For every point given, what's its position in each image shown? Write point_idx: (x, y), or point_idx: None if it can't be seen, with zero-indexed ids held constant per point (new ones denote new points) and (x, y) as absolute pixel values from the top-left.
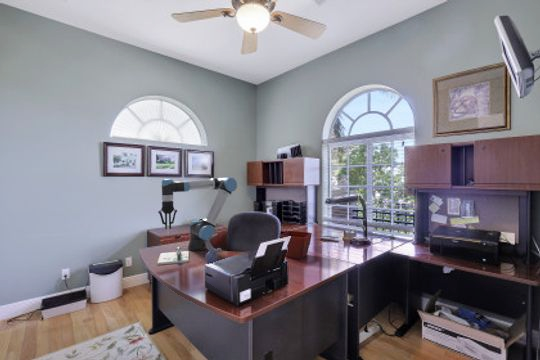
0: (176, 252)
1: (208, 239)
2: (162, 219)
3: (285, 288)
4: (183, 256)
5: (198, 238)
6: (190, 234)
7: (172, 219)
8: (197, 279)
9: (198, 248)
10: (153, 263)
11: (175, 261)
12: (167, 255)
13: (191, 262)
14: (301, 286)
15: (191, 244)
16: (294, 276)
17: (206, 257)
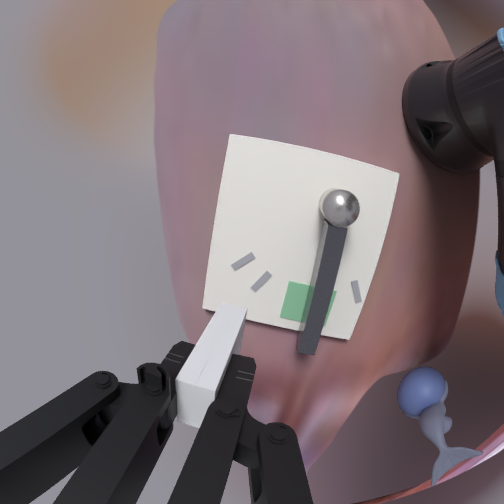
0: (320, 209)
1: (438, 448)
2: (71, 457)
3: (410, 489)
4: (346, 272)
5: (492, 155)
6: (466, 87)
7: (259, 498)
8: (310, 456)
9: (454, 169)
10: (188, 271)
11: (288, 327)
12: (263, 204)
13: (357, 343)
14: (430, 485)
15: (434, 124)
16: (458, 463)
17: (399, 403)
